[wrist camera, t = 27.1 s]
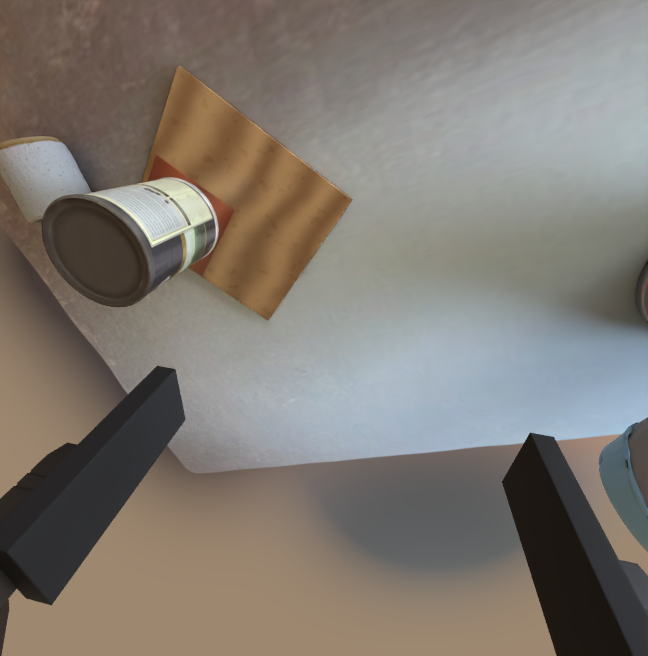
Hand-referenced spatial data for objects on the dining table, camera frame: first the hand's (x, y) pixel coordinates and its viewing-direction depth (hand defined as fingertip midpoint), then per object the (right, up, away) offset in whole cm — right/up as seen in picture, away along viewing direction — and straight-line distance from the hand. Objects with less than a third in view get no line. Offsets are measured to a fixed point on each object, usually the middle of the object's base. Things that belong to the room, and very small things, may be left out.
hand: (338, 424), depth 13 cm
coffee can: (-18, +17, +29) cm, 39 cm away
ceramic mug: (-34, +22, +30) cm, 50 cm away
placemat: (-12, +18, +28) cm, 35 cm away
